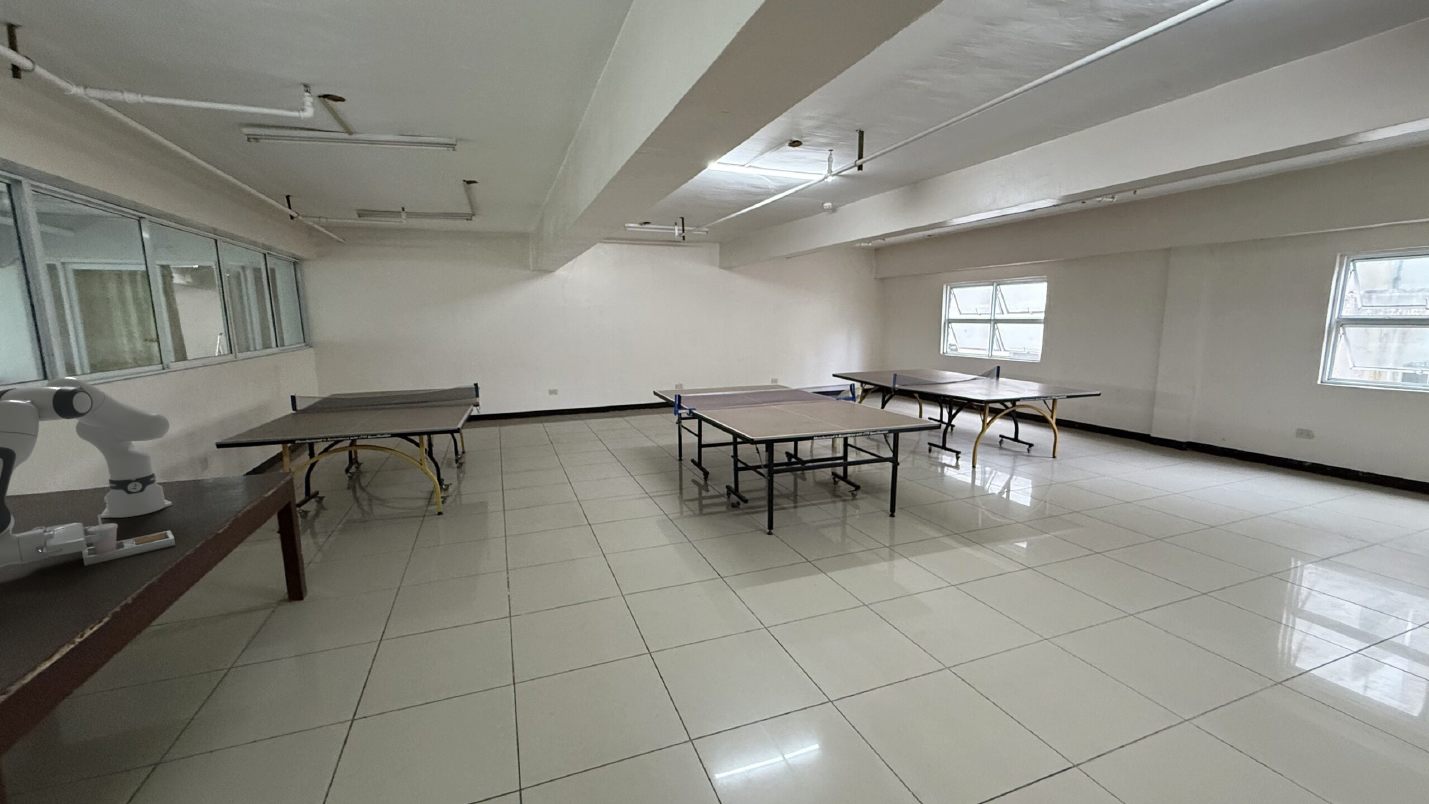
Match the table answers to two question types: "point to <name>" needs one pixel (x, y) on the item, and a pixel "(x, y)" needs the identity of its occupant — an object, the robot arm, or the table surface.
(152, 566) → the table surface
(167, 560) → the table surface
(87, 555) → the cup holder
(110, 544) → the smoothie
